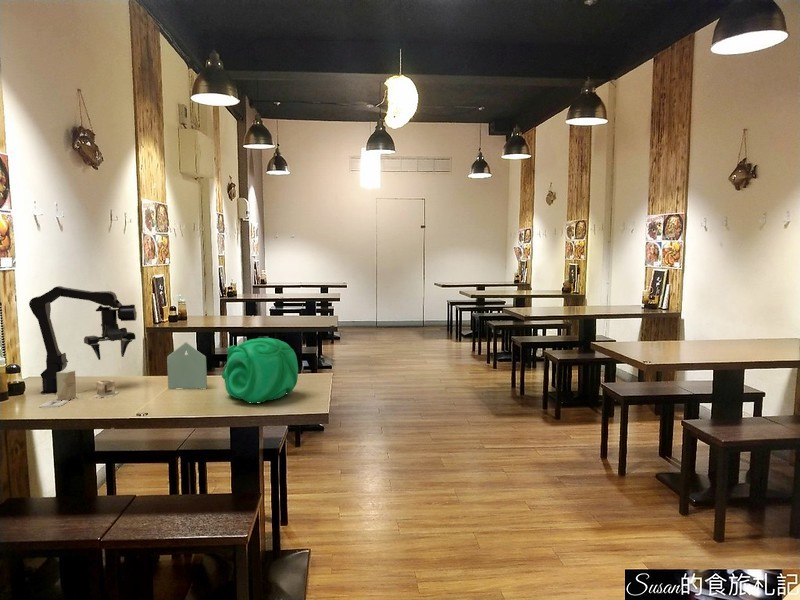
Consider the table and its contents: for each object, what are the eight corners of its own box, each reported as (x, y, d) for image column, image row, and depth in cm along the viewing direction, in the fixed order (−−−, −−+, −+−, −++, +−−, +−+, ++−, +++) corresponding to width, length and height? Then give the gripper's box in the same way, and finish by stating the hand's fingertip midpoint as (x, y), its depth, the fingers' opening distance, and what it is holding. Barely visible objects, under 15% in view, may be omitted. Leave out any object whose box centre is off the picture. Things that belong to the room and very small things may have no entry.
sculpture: (244, 369, 243) (276, 317, 233) (285, 415, 234) (320, 363, 224) (195, 382, 220) (228, 324, 209) (238, 433, 211) (276, 376, 200)
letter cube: (101, 396, 223) (101, 383, 223) (97, 393, 226) (96, 381, 226) (115, 393, 227) (114, 381, 226) (110, 391, 230) (110, 379, 230)
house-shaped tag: (213, 384, 244) (212, 339, 243) (206, 389, 236) (205, 342, 235) (176, 384, 245) (174, 339, 243) (168, 389, 237) (166, 342, 235)
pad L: (93, 398, 223) (93, 396, 223) (100, 393, 230) (100, 391, 230) (111, 397, 224) (111, 395, 223) (118, 393, 230) (118, 391, 230)
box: (66, 401, 218) (65, 372, 217) (57, 400, 219) (55, 372, 218) (77, 397, 224) (75, 370, 223) (67, 397, 224) (66, 369, 223)
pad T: (39, 407, 210) (39, 405, 209) (49, 402, 216) (49, 400, 216) (59, 406, 210) (59, 405, 210) (68, 401, 217) (68, 400, 217)
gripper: (91, 325, 226) (93, 364, 227) (139, 321, 239) (141, 357, 240) (82, 323, 233) (84, 360, 235) (129, 319, 247) (131, 354, 248)
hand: (111, 358), depth 239 cm, fingers open, 9 cm apart
